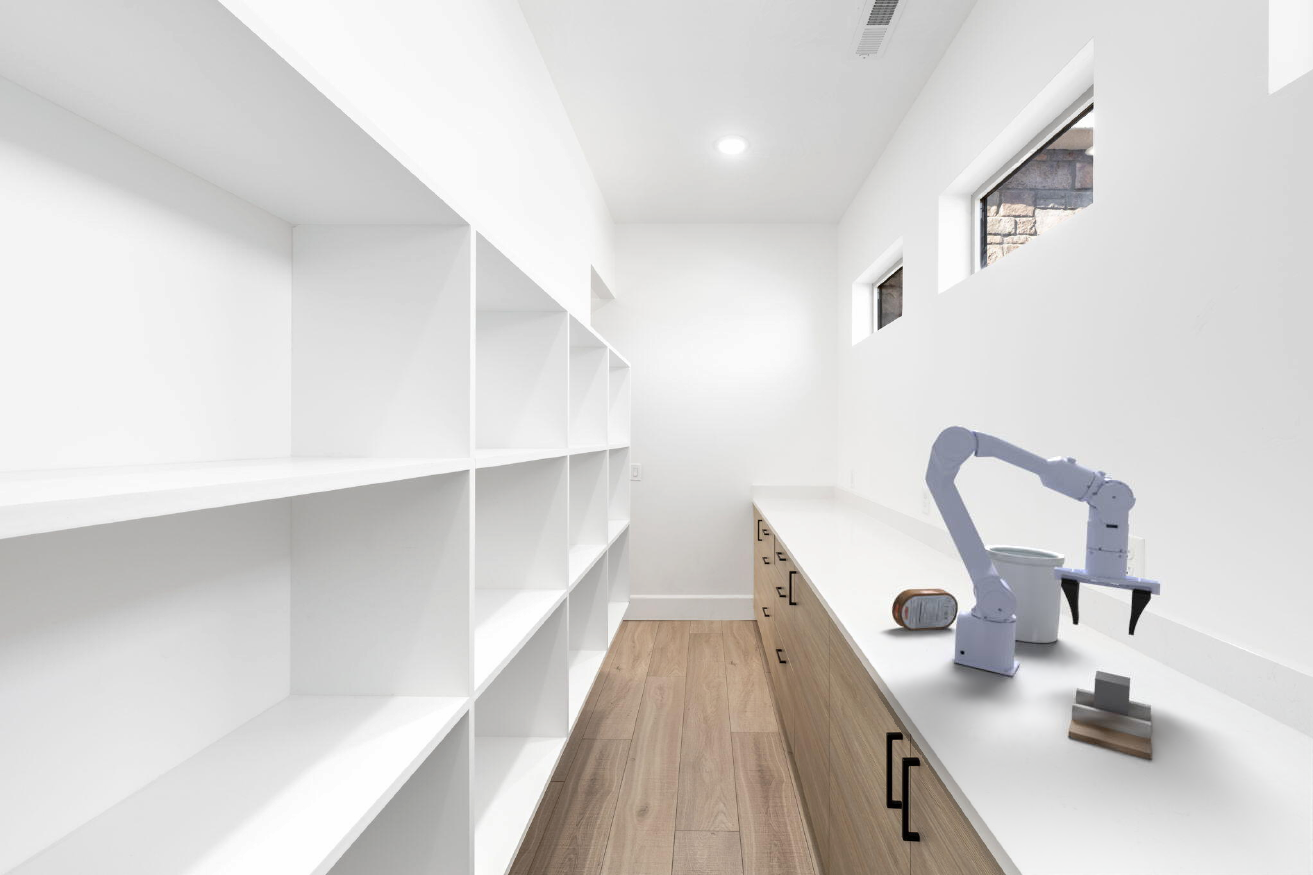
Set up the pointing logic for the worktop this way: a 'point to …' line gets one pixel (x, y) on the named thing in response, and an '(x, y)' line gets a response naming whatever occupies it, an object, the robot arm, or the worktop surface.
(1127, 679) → the grey rectangular block
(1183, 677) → the worktop surface
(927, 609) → the tin
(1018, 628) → the utensil holder
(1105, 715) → the end holder
